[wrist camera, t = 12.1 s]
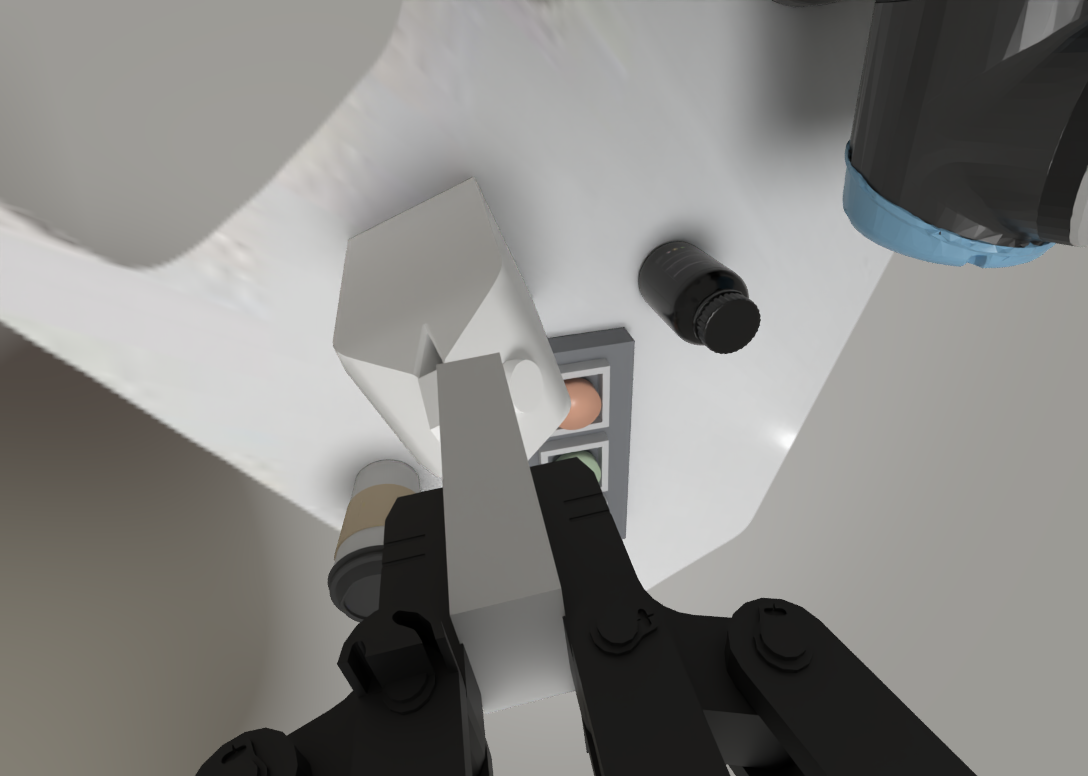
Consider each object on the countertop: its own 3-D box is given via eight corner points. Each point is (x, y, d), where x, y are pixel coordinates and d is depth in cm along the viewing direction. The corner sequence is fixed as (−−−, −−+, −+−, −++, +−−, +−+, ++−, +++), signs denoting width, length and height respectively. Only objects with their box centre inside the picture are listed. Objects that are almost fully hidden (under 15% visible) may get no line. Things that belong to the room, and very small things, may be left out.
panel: (624, 327, 53) (640, 348, 49) (617, 520, 68) (629, 547, 65) (495, 346, 51) (502, 369, 47) (519, 540, 66) (525, 569, 63)
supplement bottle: (707, 292, 53) (775, 349, 43) (643, 316, 53) (696, 379, 43) (699, 227, 49) (771, 274, 39) (630, 253, 49) (685, 306, 39)
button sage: (596, 446, 55) (601, 456, 54) (596, 481, 58) (600, 491, 57) (550, 454, 55) (553, 464, 53) (552, 489, 57) (555, 500, 56)
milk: (348, 239, 43) (282, 430, 22) (474, 176, 42) (534, 308, 21) (423, 352, 50) (429, 582, 28) (532, 299, 49) (623, 493, 28)
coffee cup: (439, 459, 57) (446, 573, 45) (418, 519, 61) (419, 638, 49) (353, 445, 54) (334, 564, 41) (336, 508, 58) (314, 634, 45)
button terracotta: (596, 374, 50) (601, 382, 49) (596, 416, 53) (601, 425, 52) (545, 382, 50) (549, 391, 48) (548, 424, 52) (551, 433, 51)
